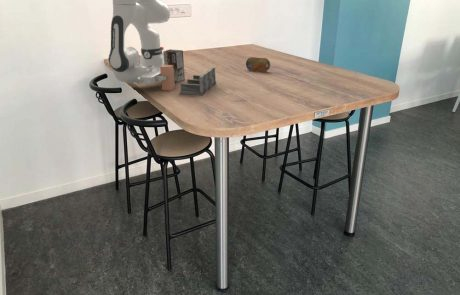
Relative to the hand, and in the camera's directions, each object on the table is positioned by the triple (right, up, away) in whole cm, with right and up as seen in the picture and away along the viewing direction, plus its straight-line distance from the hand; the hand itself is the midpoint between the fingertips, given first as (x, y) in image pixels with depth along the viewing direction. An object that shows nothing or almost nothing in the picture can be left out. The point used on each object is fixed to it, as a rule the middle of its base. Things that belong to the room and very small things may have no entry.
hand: (169, 76), depth 189 cm
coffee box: (0, +2, +20) cm, 20 cm away
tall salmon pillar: (-1, -6, +3) cm, 7 cm away
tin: (+48, +10, +36) cm, 60 cm away
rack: (+15, -6, +3) cm, 16 cm away
